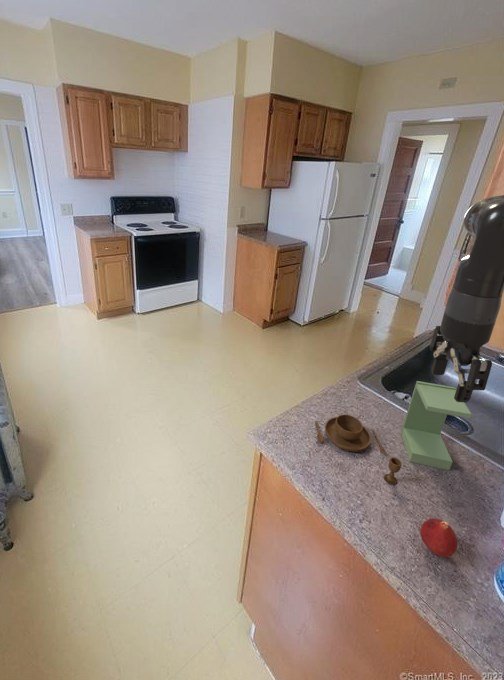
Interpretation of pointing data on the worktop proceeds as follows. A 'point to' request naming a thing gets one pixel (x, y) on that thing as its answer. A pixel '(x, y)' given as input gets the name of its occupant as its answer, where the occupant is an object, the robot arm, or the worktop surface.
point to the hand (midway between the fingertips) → (448, 386)
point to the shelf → (430, 423)
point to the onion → (439, 537)
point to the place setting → (355, 439)
